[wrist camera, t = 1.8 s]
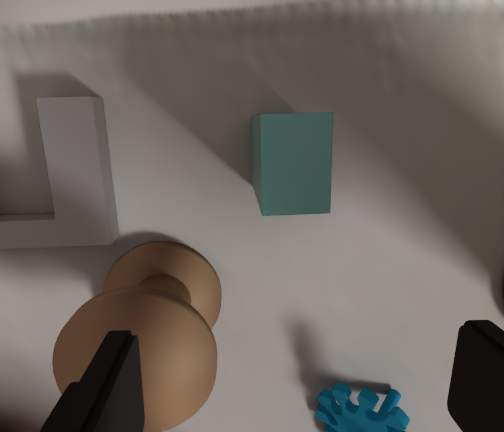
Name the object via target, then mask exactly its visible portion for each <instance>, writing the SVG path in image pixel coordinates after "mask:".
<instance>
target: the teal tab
mask: <svg viewBox="0 0 504 432" xmlns="http://www.w3.org/2000/svg"><path fill="white" fill-rule="evenodd" d="M332 130H333V112H327V113H288V114H259V115H256V116H253V117H251V133H252V172H253V188H254V191H255V194H256V198H257V201H258V204H259V207H260V210H261V213H262V216H270V215H296V214H323V213H330V202H331V166H332Z"/></svg>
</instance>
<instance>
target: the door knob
mask: <svg viewBox="0 0 504 432" xmlns="http://www.w3.org/2000/svg"><path fill="white" fill-rule="evenodd" d="M220 307H221V286H220V282H219V278H218V276H217V274H216V272H215V270H214V268H213V267H212V265H211V264H210V263H209V262H208V260H207V259H205V258H204V257H203V256H202V255H201V254H200V253H198V252H197V251H195V250H194V249H192V248H190V247H188V246H185V245H183V244H179V243H176V242H169V241H156V242H149V243H145V244H142V245H140V246H137V247H135V248H133V249H131V250H130V251H128V252H127V253H126V254H124V255H123V256H122V257H121V258H120V259H119V260H118V262H117V263H116V264H115V265H114V267H113V268H112V269H111V271H110V272H109V274H108V276H107V278H106V281H105V284H104V288H103V293H101V294H99V295H97V296H95V297H93V298H92V299H90V300H89V301H87V302H86V303H85V304H83V305H82V306H81V307H80V308H79V309H78V310H77V311H76V312H75V314H74V315H73V316H72V317H71V318H70V320H69V321H68V322H67V323H66V325H65V326H64V327H63V329H62V330H61V332H60V334H59V336H58V338H57V341H56V343H55V347H54V352H53V363H52V364H53V373H54V377H55V380H56V383H57V386H58V388H59V390H60V392H61V394H63V392H64V391H65V389H66V388H67V386H68V385H69V384H70V383H72V382H79V381H80V379H81V377H82V376H83V374H84V372H85V371H86V369H87V367H88V365H89V364H90V362H91V360H92V358H93V357H94V355H95V353H96V352H97V350H98V348H99V346H100V345H101V343H102V341H103V339H104V338H105V336H106V334H107V333H108V331H114V330H130V331H131V333H132V335H137V336H138V339H139V350H140V362H141V374H142V387H143V399H144V411H145V423H144V429H143V432H161V431H165V430H167V429H170V428H173V427H175V426H177V425H179V424H181V423H183V422H184V421H186V420H188V419H189V418H190V417H192V416H193V415H194V414H195V413H196V412H197V411H198V410H199V409H200V408H201V407H202V406H203V405H204V403H205V402H206V400H207V399H208V397H209V395H210V393H211V391H212V389H213V386H214V383H215V378H216V371H217V347H216V342H215V339H214V335H213V333H212V331H211V329H212V328H213V326H214V325H215V323H216V320H217V318H218V315H219V312H220Z"/></svg>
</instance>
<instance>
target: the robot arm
mask: <svg viewBox="0 0 504 432" xmlns="http://www.w3.org/2000/svg"><path fill="white" fill-rule="evenodd" d="M447 406H448V411H449V413H450V415H451V417H452V418H453V419H454V421H455V422H456V423H457V425H458V426H459V427H460V429H461V430H462V431H463V432H504V331H503V330H502V329H500V328H499V327H498V326H497V325H495V324H494V323H493V322H491V321H489V320H468V321H466V322H465V323H464V326H461V327H460V328H459V332H458V339H457V345H456V351H455V357H454V363H453V369H452V376H451V382H450V388H449V394H448V400H447ZM144 423H145V411H144V399H143V387H142V374H141V362H140V350H139V339H138V336H137V335H132V333H131V331H130V330H114V331H108V333H107V334H106V336H105V338H104V339H103V341H102V343H101V345H100V346H99V348H98V350H97V352H96V353H95V355H94V357H93V358H92V360H91V362H90V364H89V365H88V367H87V369H86V371H85V372H84V374H83V376H82V377H81V379H80V381H79V382H72V383H70V384H69V385H68V386H67V388H66V389H65V391H64V392H63V394H62V396H61V397H60V399H59V401H58V402H57V404H56V405H55V407H54V409H53V410H52V412H51V414H50V415H49V417H48V418H47V420H46V422H45V423H44V425H43V427H42V428H41V430H40V432H143V429H144Z"/></svg>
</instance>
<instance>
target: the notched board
mask: <svg viewBox="0 0 504 432" xmlns="http://www.w3.org/2000/svg"><path fill="white" fill-rule="evenodd" d="M36 104H37V110H38V116H39V122H40V128H41V134H42V140H43V146H44V152H45V158H46V164H47V170H48V176H49V182H50V188H51V195H52V201H53V207H54V213H44V214H16V215H0V249H24V248H49V247H74V246H98V245H111V244H112V243H113V242H114V241H115V240H116V239H117V238H118V237H119V230H118V222H117V214H116V206H115V198H114V189H113V181H112V173H111V165H110V156H109V148H108V140H107V132H106V123H105V115H104V107H103V99H102V98H98V97H92V96H87V97H44V98H36Z"/></svg>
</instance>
